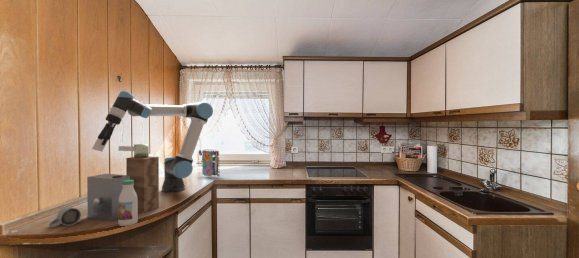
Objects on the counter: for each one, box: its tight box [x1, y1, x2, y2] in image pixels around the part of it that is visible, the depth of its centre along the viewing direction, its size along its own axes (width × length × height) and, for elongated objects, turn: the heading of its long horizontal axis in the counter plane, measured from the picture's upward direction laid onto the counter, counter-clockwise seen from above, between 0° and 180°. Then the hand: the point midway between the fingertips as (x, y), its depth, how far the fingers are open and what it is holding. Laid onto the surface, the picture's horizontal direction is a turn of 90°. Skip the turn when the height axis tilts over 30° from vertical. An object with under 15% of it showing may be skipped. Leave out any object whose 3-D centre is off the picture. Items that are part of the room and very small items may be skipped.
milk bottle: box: [117, 180, 139, 227], centre depth 128 cm, size 8×8×20 cm
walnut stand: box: [125, 156, 160, 213], centre depth 151 cm, size 10×12×28 cm
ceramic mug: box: [48, 206, 82, 228], centre depth 126 cm, size 11×8×8 cm
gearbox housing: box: [86, 173, 130, 222], centre depth 137 cm, size 12×16×20 cm
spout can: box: [118, 143, 150, 158], centre depth 153 cm, size 7×18×7 cm, turn 72°
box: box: [198, 148, 221, 179], centre depth 243 cm, size 25×6×24 cm, turn 55°
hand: (96, 150), depth 154 cm, fingers open, 13 cm apart
